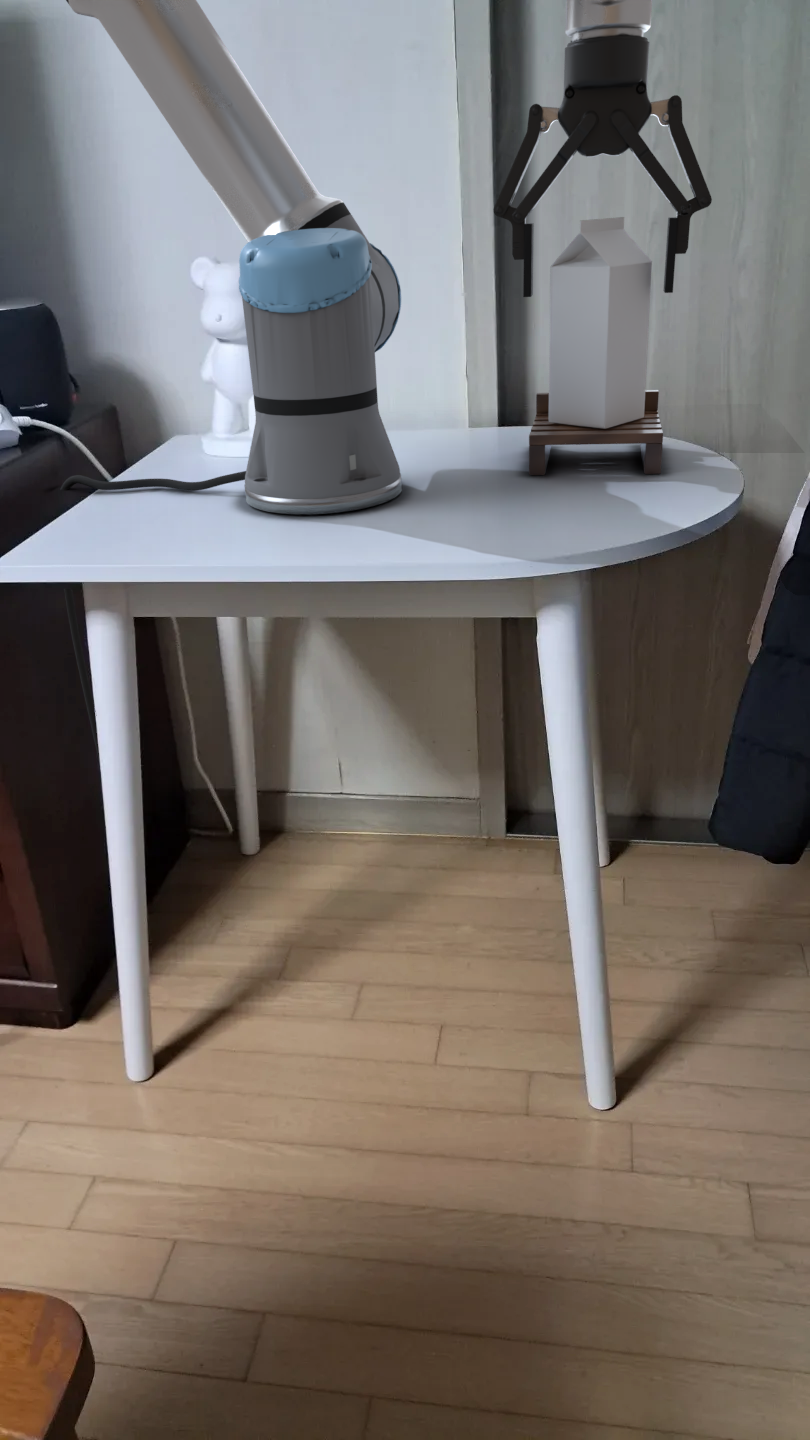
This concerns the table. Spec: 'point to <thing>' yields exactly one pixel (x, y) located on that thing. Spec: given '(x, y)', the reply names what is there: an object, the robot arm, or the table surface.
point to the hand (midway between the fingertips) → (597, 294)
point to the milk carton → (599, 327)
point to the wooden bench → (597, 435)
